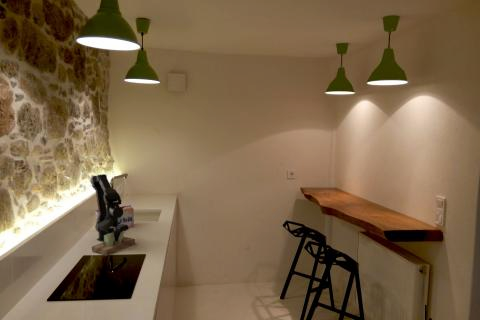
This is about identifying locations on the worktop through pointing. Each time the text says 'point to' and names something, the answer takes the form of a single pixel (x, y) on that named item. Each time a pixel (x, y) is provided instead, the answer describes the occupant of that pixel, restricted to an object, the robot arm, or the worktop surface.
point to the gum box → (124, 216)
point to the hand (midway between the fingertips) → (113, 240)
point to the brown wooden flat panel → (108, 250)
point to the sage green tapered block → (112, 238)
